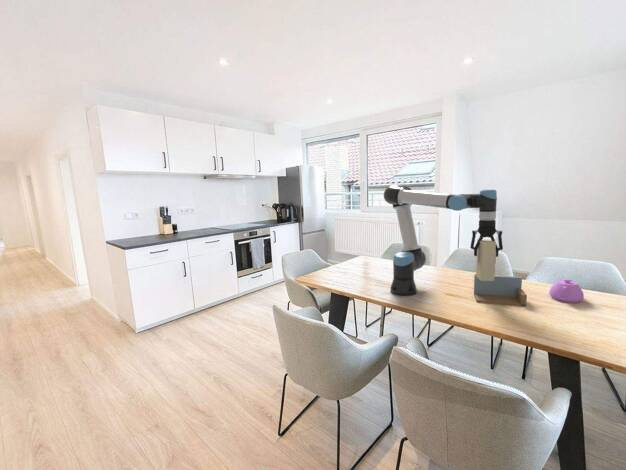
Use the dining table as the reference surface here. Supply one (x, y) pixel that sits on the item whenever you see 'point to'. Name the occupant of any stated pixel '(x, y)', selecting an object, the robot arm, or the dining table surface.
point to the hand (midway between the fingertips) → (485, 262)
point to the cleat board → (500, 291)
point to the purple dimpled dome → (566, 291)
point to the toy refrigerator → (486, 260)
